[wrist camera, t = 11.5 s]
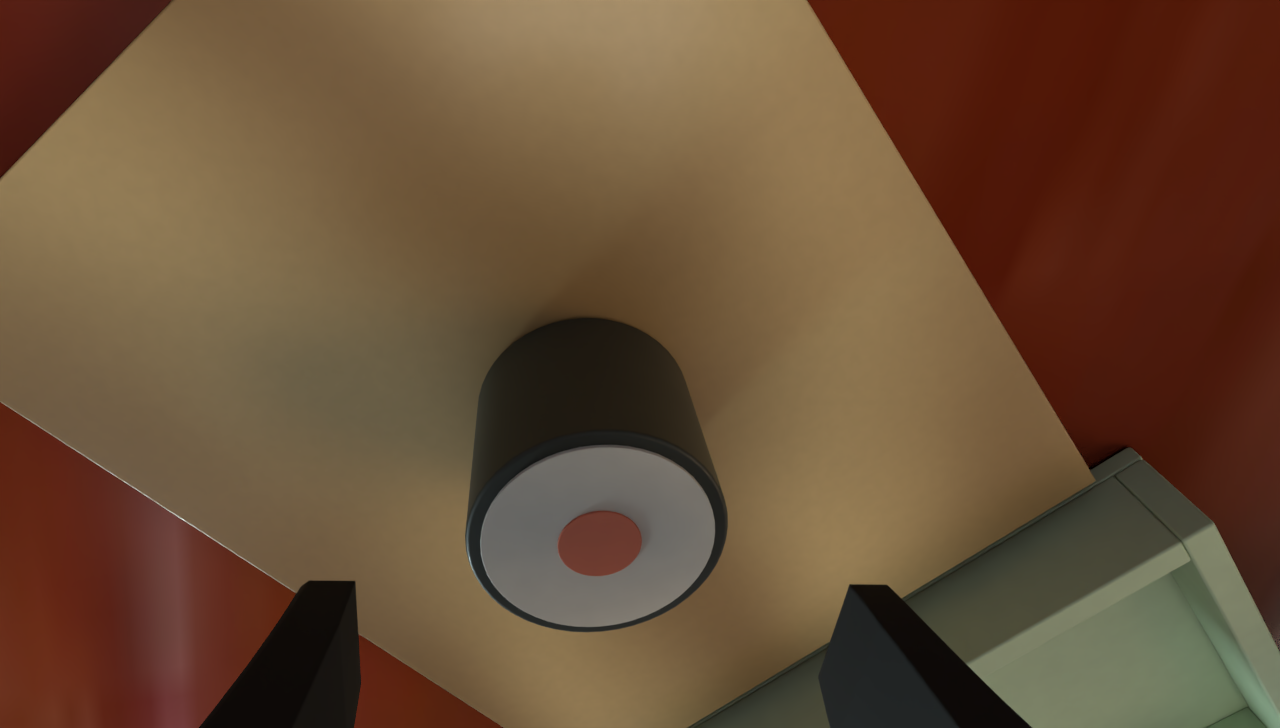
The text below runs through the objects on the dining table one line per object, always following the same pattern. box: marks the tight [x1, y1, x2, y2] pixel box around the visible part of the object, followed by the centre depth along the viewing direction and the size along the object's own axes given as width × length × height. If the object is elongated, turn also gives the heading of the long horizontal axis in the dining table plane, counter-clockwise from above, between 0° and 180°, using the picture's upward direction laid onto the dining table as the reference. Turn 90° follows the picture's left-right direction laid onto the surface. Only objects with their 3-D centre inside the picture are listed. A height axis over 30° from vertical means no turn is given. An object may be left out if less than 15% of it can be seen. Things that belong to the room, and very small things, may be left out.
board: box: [0, 0, 1096, 728], centre depth 17 cm, size 16×20×1 cm
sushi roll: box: [465, 318, 728, 632], centre depth 15 cm, size 4×4×4 cm
